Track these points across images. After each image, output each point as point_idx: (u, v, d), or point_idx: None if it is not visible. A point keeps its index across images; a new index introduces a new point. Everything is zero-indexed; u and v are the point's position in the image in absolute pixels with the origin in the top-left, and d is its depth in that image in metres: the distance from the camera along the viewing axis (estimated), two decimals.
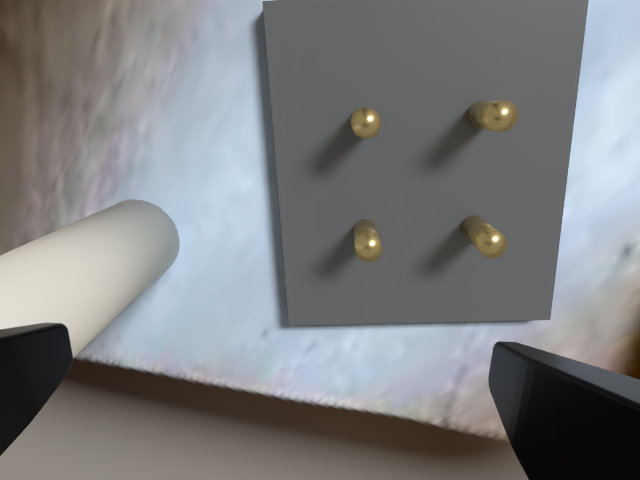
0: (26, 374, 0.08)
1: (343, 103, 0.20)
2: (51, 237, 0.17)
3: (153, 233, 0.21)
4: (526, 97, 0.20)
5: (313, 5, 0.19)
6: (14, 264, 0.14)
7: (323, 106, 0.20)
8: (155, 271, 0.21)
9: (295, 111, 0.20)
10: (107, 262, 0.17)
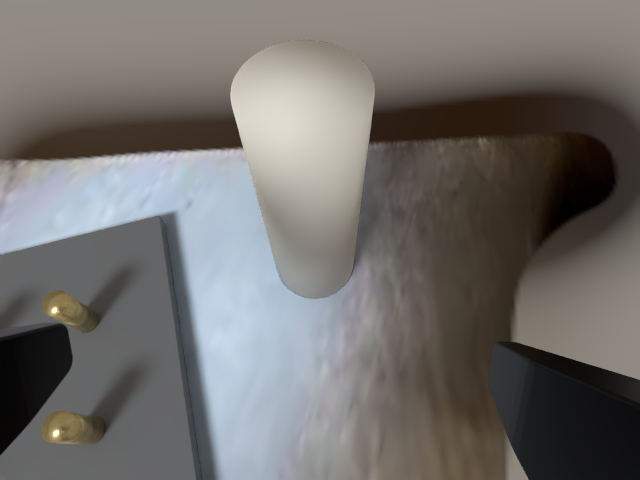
0: (26, 374, 0.08)
1: (113, 443, 0.20)
2: (323, 241, 0.18)
3: (282, 269, 0.22)
4: None
5: None
6: (306, 207, 0.15)
7: (133, 435, 0.20)
8: None
9: (162, 423, 0.20)
10: (272, 230, 0.18)
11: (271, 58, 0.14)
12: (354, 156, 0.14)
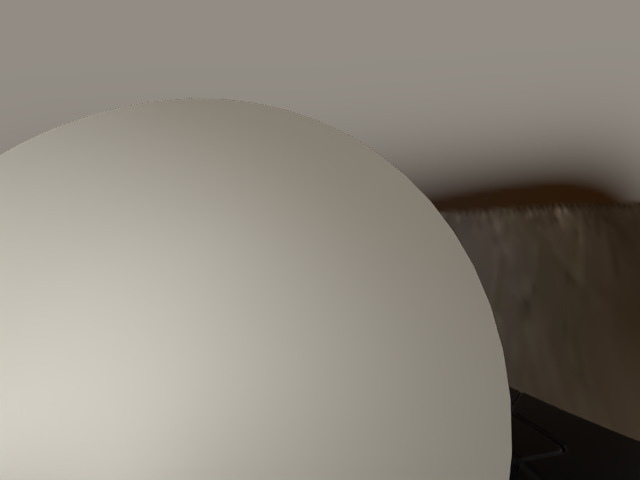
0: None
1: None
2: None
3: None
4: None
5: None
6: None
7: None
8: None
9: None
10: None
11: (47, 181, 0.03)
12: None
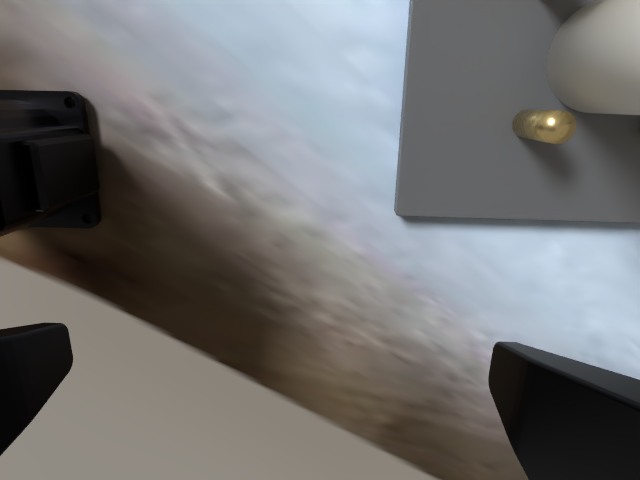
0: (26, 374, 0.08)
1: (503, 143, 0.19)
2: None
3: (595, 13, 0.15)
4: None
5: (406, 167, 0.20)
6: None
7: (502, 165, 0.19)
8: None
9: (501, 194, 0.20)
10: None
11: None
12: None
